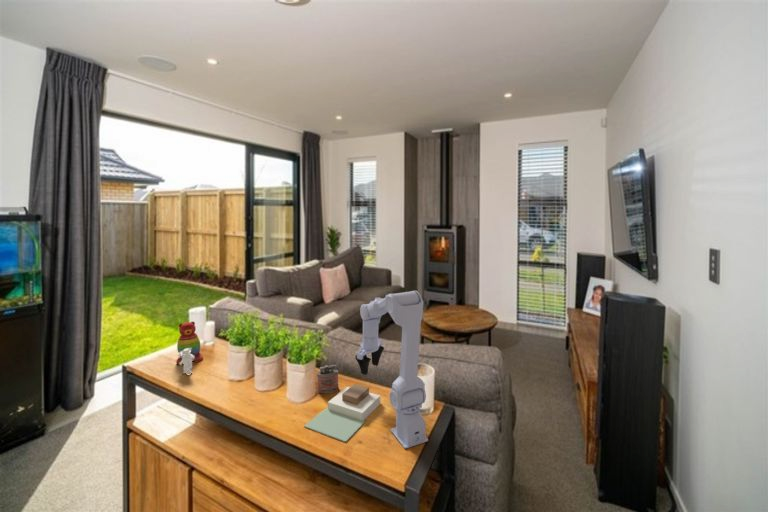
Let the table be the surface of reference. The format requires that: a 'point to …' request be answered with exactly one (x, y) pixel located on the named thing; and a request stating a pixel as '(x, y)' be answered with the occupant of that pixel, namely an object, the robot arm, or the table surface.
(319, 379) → the lighter
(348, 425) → the mat
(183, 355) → the flower shoulder figurine
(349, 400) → the walnut tile
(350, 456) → the table surface
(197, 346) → the stacking bear
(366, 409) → the white flat block
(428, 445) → the table surface
